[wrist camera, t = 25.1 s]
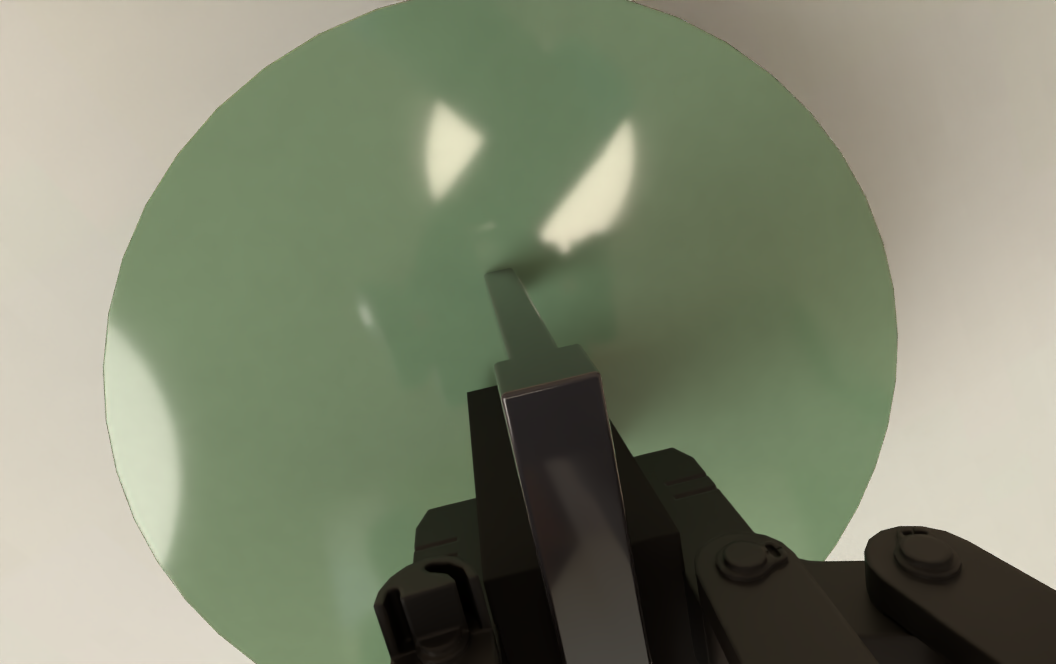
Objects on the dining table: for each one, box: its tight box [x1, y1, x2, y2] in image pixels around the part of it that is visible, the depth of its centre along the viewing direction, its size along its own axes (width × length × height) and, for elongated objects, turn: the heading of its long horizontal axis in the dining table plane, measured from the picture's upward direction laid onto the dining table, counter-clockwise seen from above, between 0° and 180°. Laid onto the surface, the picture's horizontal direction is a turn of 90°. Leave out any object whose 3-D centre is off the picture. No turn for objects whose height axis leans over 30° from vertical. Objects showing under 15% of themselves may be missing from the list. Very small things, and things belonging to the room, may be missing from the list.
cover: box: [103, 0, 898, 664], centre depth 12 cm, size 19×19×9 cm
